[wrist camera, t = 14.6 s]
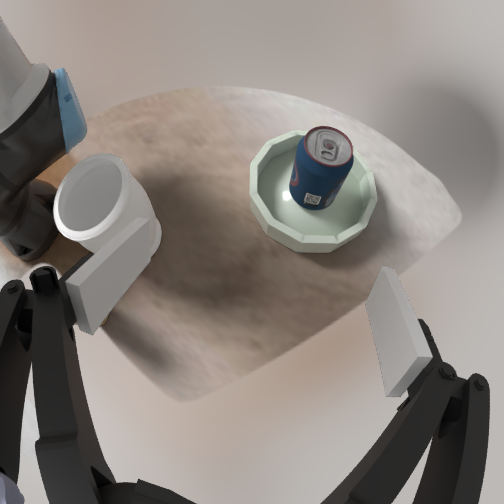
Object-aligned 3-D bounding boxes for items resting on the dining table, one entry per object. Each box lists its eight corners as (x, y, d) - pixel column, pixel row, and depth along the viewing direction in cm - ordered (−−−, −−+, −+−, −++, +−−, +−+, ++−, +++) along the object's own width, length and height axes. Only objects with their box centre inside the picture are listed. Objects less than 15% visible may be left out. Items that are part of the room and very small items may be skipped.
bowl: (227, 213, 41) (224, 200, 37) (285, 131, 45) (287, 114, 41) (336, 275, 39) (346, 268, 34) (379, 181, 43) (390, 168, 38)
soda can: (293, 167, 42) (304, 115, 31) (337, 180, 42) (360, 132, 30) (283, 206, 40) (292, 159, 29) (329, 219, 40) (355, 178, 28)
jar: (175, 260, 40) (135, 221, 25) (113, 279, 39) (52, 252, 24) (162, 196, 42) (126, 139, 28) (105, 217, 42) (54, 171, 27)
